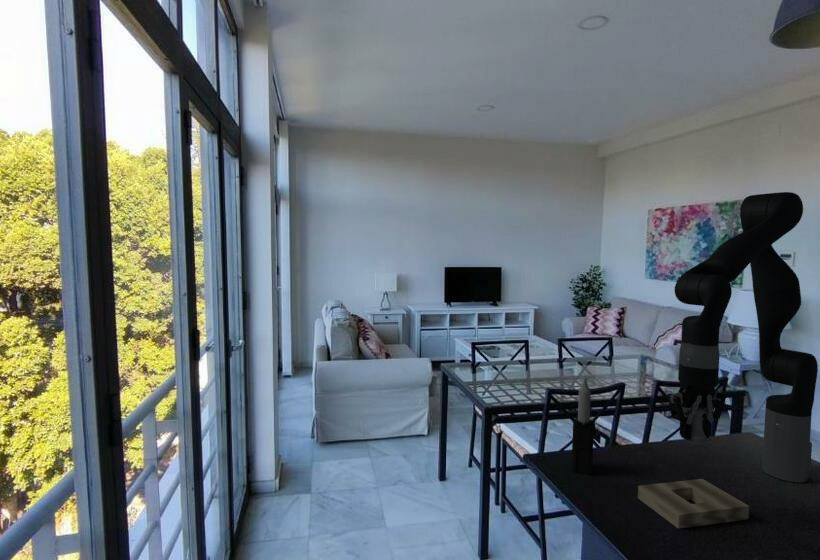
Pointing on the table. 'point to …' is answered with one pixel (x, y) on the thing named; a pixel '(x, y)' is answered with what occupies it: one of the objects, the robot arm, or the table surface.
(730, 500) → the socket board
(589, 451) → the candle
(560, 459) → the table surface
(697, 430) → the rook chess piece
